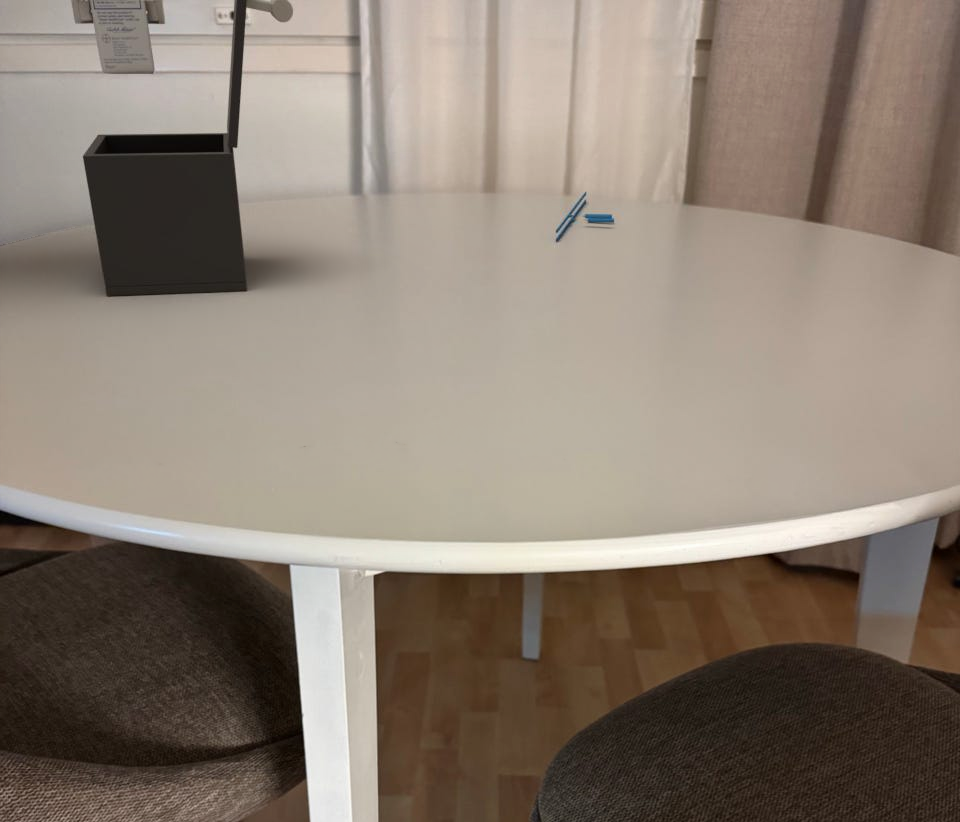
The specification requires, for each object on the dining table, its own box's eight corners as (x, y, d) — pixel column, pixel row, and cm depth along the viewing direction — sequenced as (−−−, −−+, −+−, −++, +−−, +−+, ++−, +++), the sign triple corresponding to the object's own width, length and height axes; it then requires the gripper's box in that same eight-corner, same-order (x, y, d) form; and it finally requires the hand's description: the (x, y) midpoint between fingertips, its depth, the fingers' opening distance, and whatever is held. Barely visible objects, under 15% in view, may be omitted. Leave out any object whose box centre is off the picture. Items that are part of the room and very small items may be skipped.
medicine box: (155, 74, 91) (139, -46, 86) (101, 75, 90) (82, -47, 85) (152, 67, 97) (137, -45, 93) (101, 67, 96) (83, -46, 92)
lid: (238, -34, 86) (298, -21, 87) (236, -34, 97) (289, -23, 98) (227, 146, 92) (283, 156, 94) (226, 127, 104) (276, 135, 105)
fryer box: (106, 296, 97) (82, 155, 91) (118, 261, 108) (97, 134, 102) (247, 290, 99) (233, 153, 93) (244, 257, 110) (231, 133, 104)
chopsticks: (625, 191, 138) (585, 191, 139) (602, 229, 117) (556, 229, 118) (624, 203, 139) (585, 202, 140) (602, 243, 118) (555, 242, 119)
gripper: (-56, -188, 80) (-13, 24, 87) (221, -177, 84) (240, 26, 91) (-39, -178, 85) (0, 21, 93) (221, -168, 89) (239, 23, 96)
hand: (121, 23), depth 92 cm, fingers closed on medicine box, 4 cm apart
